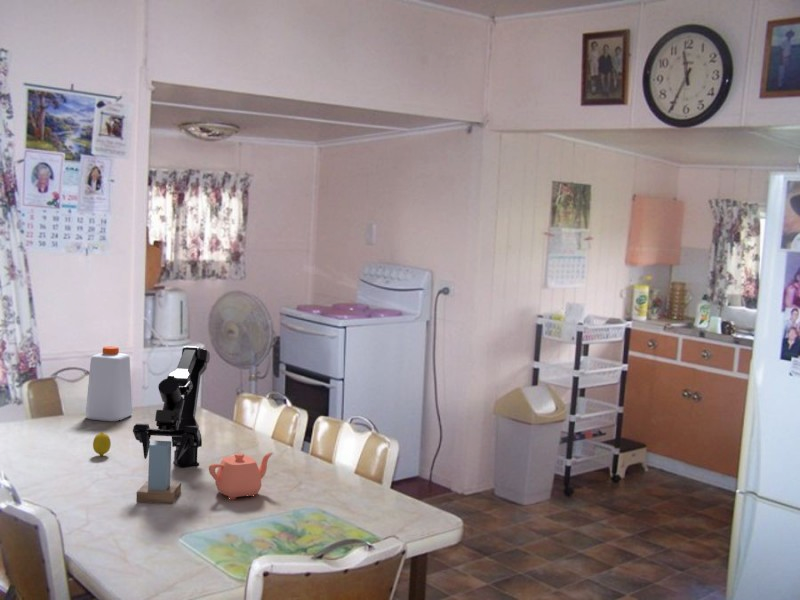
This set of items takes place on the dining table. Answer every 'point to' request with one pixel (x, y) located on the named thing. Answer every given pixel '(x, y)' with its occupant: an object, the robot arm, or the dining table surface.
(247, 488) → the teapot
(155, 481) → the blue block
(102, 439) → the lemon
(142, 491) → the walnut base
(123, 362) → the plastic bottle
